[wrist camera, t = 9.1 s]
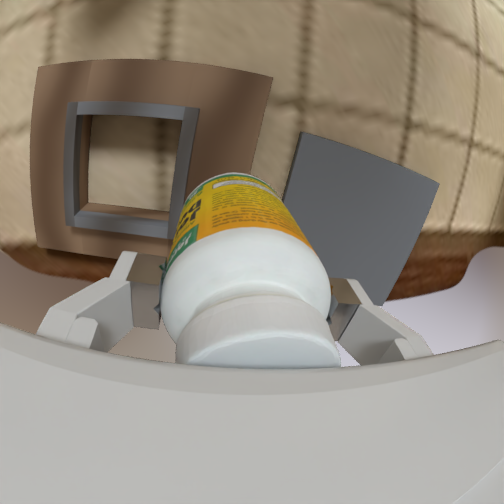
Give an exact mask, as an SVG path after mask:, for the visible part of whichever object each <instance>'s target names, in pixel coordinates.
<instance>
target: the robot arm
mask: <svg viewBox="0 0 504 504" xmlns="http://www.w3.org/2000/svg"><path fill="white" fill-rule="evenodd" d="M166 266H167V257H163V256H157V255H150V254H144V253H137V252H132V251H123V252H122V253H121V255H120V257H119V259H118V261H117V263H116V265H115V267H114V269H113V271H112V273H111V275H110V277H109V278H103V279H101V280H99V281H97V282H96V283H94V284H92V285H90V286H88V287H86V288H85V289H83V290H81V291H79V292H77V293H76V294H74V295H72V296H70V297H68V298H67V299H65V300H63V301H61V302H60V303H58V304H56V305H54V306H53V307H51V308H50V309H49V310H48V312H47V314H46V316H45V318H44V319H43V321H42V323H41V325H40V327H39V329H38V331H37V333H36V334H32V333H29V332H26V331H23V330H20V329H17V328H15V327H12V326H9V325H6V324H4V323H0V504H504V342H503V341H501V340H495V341H492V342H488V343H484V344H480V345H477V346H473V347H469V348H464V349H461V350H456V351H451V352H447V353H442V354H438V355H433V353H432V351H431V350H430V348H429V347H428V345H427V344H426V342H425V341H424V339H423V338H422V336H421V335H419V334H418V333H416V332H415V331H414V330H412V329H411V328H409V327H408V326H406V325H405V324H403V323H402V322H400V321H399V320H398V319H396V318H395V317H393V316H392V315H390V314H389V313H387V312H386V311H384V310H383V309H382V308H380V307H379V306H377V305H373V303H372V302H371V300H370V298H369V297H368V295H367V294H366V292H365V291H364V290H363V288H362V287H361V285H360V284H359V282H358V281H357V280H355V279H345V278H344V279H343V278H331V277H328V278H329V282H330V289H331V303H330V309H329V313H328V316H327V319H326V321H327V322H328V325H329V328H330V332H331V334H332V337H333V339H334V341H338V343H339V344H340V345H341V346H342V347H343V348H344V349H345V350H346V351H347V352H348V353H349V354H350V355H351V356H352V357H353V358H354V359H355V360H356V361H357V362H358V363H359V364H360V366H349V367H334V368H314V369H243V368H223V367H209V366H197V365H187V364H177V363H168V362H160V361H154V360H146V359H141V358H134V357H128V356H122V355H117V354H112V353H107V352H108V351H109V350H110V349H111V348H112V347H114V346H115V345H116V344H117V343H118V342H119V341H120V340H121V339H122V338H123V337H124V336H125V335H126V334H127V333H128V332H129V331H130V330H131V329H133V326H134V327H141V328H149V329H159V324H160V319H161V308H160V296H161V290H162V283H163V279H164V275H165V271H166Z"/></svg>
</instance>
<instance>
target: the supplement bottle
mask: <svg viewBox="0 0 504 504" xmlns="http://www.w3.org/2000/svg"><path fill="white" fill-rule="evenodd" d="M330 303H331V289H330V282H329V278H328V275H327V273H326V270H325V268H324V266H323V264H322V263H321V261H320V259H319V257H318V256H317V254H316V253H315V251H314V250H313V248H312V246H311V245H310V243H309V242H308V240H307V239H306V237H305V236H304V234H303V232H302V231H301V229H300V228H299V226H298V225H297V223H296V221H295V220H294V218H293V217H292V215H291V214H290V212H289V211H288V209H287V208H286V206H285V205H284V204H283V202H282V200H281V199H280V198H279V196H278V195H277V193H276V192H275V191H274V190H273V189H272V188H271V187H270V186H269V185H268V184H267V183H266V182H264V181H263V180H261V179H259V178H257V177H254V176H252V175H249V174H244V173H237V172H232V173H225V174H221V175H217V176H214V177H212V178H210V179H208V180H206V181H204V182H203V183H201V184H200V185H199V186H198V187H196V188H195V189H194V190H193V191H192V192H191V194H190V195H189V196H188V198H187V200H186V201H185V203H184V206H183V209H182V211H181V215H180V219H179V222H178V226H177V229H176V233H175V237H174V240H173V244H172V247H171V251H170V255H169V258H168V263H167V266H166V271H165V275H164V279H163V283H162V290H161V296H160V308H161V315H162V319H163V322H164V325H165V327H166V329H167V332H168V333H169V335H170V337H171V338H172V339H173V341H174V342H175V343H176V363H177V364H187V365H197V366H209V367H223V368H243V369H314V368H334V367H341V359H340V354H339V351H338V349H337V347H336V344H335V341H334V339H333V337H332V334H331V332H330V328H329V325H328V322H327V321H326V319H327V316H328V313H329V309H330Z"/></svg>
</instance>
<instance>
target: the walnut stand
mask: <svg viewBox="0 0 504 504" xmlns="http://www.w3.org/2000/svg"><path fill="white" fill-rule="evenodd" d="M272 80H273V77H269V76H265V75H260V74H256V73H251V72H247V71H242V70H236V69H231V68H225V67H219V66H213V65H206V64H198V63H190V62H180V61H167V60H149V59H107V60H89V61H78V62H68V63H60V64H53V65H47V66H41V67H38V72H37V78H36V84H35V91H34V98H33V107H32V118H31V134H30V180H31V196H32V207H33V217H34V225H35V232H36V238H37V244H38V247H43V248H49V249H55V250H61V251H67V252H74V253H80V254H87V255H93V256H100V257H107V258H114V259H119V257H120V255H121V253H122V252H123V251H132V252H137V253H144V254H150V255H157V256H163V257H167V263H168V258H169V255H170V251H171V247H172V244H173V240H174V237H175V233H176V229H177V226H178V222H179V219H180V215H181V211H182V209H183V206H184V203H185V201H186V200H187V198H188V196H189V195H190V194H191V192H192V191H193V190H194V189H195V188H196V187H198V186H199V185H200V184H201V183H203V182H204V181H206V180H208V179H210V178H212V177H214V176H217V175H221V174H225V173H232V172H237V173H244V174H249V175H250V171H251V167H252V162H253V158H254V154H255V150H256V145H257V141H258V137H259V133H260V129H261V125H262V121H263V117H264V112H265V108H266V104H267V100H268V96H269V92H270V88H271V84H272ZM92 114H97V115H129V116H144V117H157V118H167V119H177V120H183V121H182V127H181V132H180V138H179V144H178V151H177V157H176V164H175V171H174V178H173V186H172V194H171V203H170V212H165V211H157V210H149V209H141V208H132V207H124V206H115V205H105V204H96V203H88V161H89V145H90V132H91V123H92Z"/></svg>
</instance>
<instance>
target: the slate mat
mask: <svg viewBox="0 0 504 504" xmlns="http://www.w3.org/2000/svg"><path fill="white" fill-rule="evenodd" d="M438 187H439V183H437V182H435V181H433V180H431V179H429V178H427V177H425V176H423V175H421V174H418V173H416V172H414V171H412V170H409V169H407V168H405V167H402V166H400V165H398V164H395V163H393V162H390V161H388V160H385V159H383V158H380V157H378V156H375V155H372V154H370V153H367V152H364V151H361V150H359V149H356V148H353V147H350V146H347V145H344V144H341V143H338V142H335V141H332V140H328V139H325V138H322V137H318V136H315V135H312V134H308V133H305V132H301V133H300V137H299V140H298V144H297V148H296V151H295V155H294V159H293V162H292V166H291V170H290V173H289V177H288V181H287V184H286V188H285V192H284V195H283V199H282V202H283V204H284V205H285V206H286V208H287V209H288V211H289V212H290V214H291V215H292V217H293V218H294V220H295V221H296V223H297V225H298V226H299V228H300V229H301V231H302V232H303V234H304V236H305V237H306V239H307V240H308V242H309V243H310V245H311V246H312V248H313V250H314V251H315V253H316V254H317V256H318V257H319V259H320V261H321V263H322V264H323V266H324V268H325V270H326V273H327V275H328V277H331V278H343V279H344V278H345V279H355V280H357V281H358V282H359V284H360V285H361V287H362V288H363V290H364V291H365V292H366V294H367V295H368V297H369V298H370V300H371V302H372V303H373V305H377V306H382V305H383V304H384V302H385V300H386V299H387V297H388V295H389V293H390V291H391V290H392V288H393V286H394V284H395V282H396V280H397V279H398V277H399V275H400V273H401V271H402V269H403V267H404V265H405V263H406V261H407V259H408V257H409V255H410V253H411V251H412V249H413V247H414V245H415V242H416V240H417V238H418V236H419V234H420V231H421V229H422V227H423V224H424V222H425V220H426V217H427V215H428V213H429V210H430V208H431V205H432V203H433V200H434V197H435V195H436V192H437V189H438Z"/></svg>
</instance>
